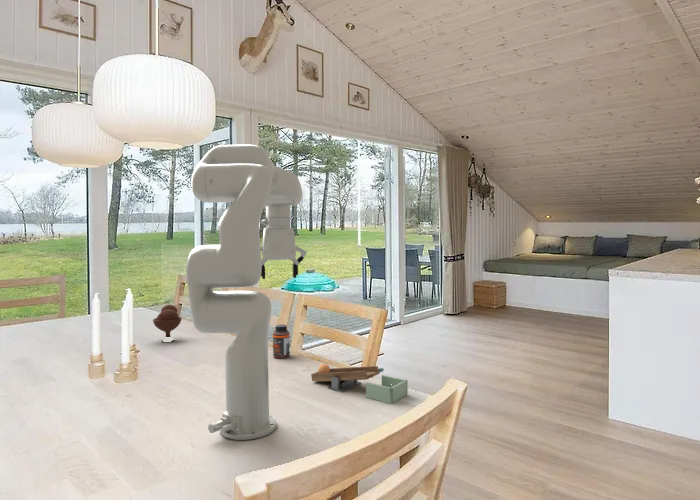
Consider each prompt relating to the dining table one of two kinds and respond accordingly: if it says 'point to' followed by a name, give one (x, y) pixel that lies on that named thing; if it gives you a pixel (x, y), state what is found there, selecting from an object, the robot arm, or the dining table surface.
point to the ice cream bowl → (167, 319)
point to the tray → (387, 389)
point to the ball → (324, 368)
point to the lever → (348, 373)
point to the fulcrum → (342, 384)
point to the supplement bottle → (281, 342)
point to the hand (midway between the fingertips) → (279, 278)
